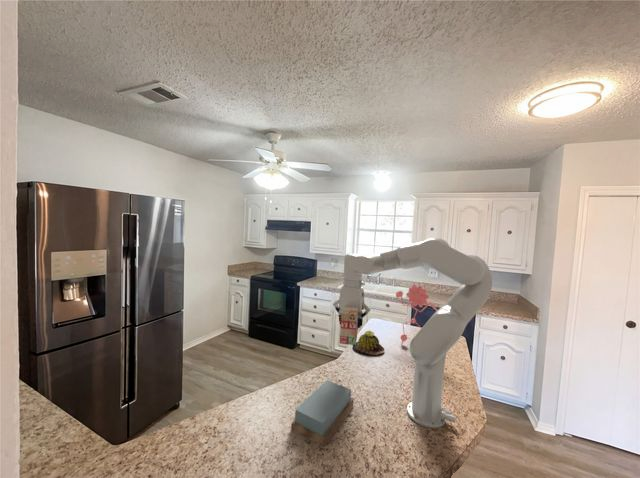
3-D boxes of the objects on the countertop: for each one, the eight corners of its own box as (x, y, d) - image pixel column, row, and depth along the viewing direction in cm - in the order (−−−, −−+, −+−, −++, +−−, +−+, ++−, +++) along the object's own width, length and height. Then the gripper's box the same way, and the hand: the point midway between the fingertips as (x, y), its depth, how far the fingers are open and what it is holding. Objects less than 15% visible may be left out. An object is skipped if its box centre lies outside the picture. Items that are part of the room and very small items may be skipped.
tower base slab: (352, 409, 97) (353, 398, 96) (324, 452, 77) (325, 439, 77) (323, 397, 102) (324, 387, 102) (290, 435, 83) (291, 423, 83)
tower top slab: (350, 400, 95) (351, 389, 95) (322, 436, 78) (322, 423, 78) (326, 390, 101) (327, 379, 100) (294, 421, 84) (295, 409, 83)
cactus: (350, 352, 140) (351, 334, 140) (354, 340, 155) (355, 324, 155) (384, 358, 136) (385, 339, 135) (384, 345, 151) (385, 328, 151)
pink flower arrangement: (431, 358, 138) (436, 291, 137) (387, 341, 157) (391, 282, 155) (442, 349, 149) (447, 288, 147) (400, 334, 167) (404, 279, 166)
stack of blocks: (345, 324, 123) (346, 298, 123) (358, 325, 122) (360, 299, 122) (339, 343, 102) (340, 312, 102) (355, 345, 101) (357, 313, 101)
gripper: (375, 284, 110) (373, 326, 111) (336, 279, 118) (334, 318, 119) (370, 288, 104) (367, 332, 104) (329, 282, 111) (327, 323, 112)
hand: (350, 324), depth 112 cm, fingers closed on stack of blocks, 7 cm apart
